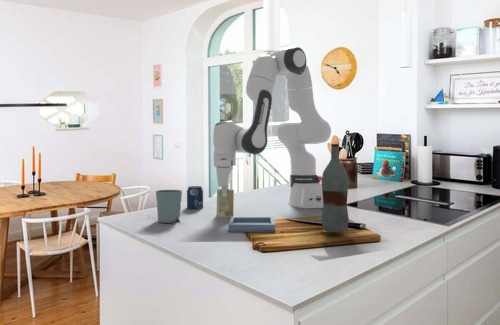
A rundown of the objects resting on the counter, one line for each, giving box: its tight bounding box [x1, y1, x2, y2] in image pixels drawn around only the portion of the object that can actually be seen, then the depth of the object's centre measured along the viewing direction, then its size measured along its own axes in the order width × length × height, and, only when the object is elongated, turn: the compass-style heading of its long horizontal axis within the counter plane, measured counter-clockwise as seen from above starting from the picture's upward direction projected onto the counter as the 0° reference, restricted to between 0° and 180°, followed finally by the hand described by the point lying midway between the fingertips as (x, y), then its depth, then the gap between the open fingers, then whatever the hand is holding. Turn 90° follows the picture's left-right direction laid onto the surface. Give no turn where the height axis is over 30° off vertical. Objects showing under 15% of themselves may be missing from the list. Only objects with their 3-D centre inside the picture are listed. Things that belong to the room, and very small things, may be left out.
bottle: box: [321, 143, 350, 233], centre depth 150 cm, size 9×9×30 cm
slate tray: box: [227, 216, 276, 233], centre depth 156 cm, size 16×16×2 cm
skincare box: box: [216, 188, 235, 219], centre depth 174 cm, size 6×4×12 cm
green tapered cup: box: [155, 189, 183, 224], centre depth 172 cm, size 10×10×12 cm
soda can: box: [186, 185, 204, 211], centre depth 187 cm, size 7×7×12 cm
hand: (225, 195), depth 173 cm, fingers open, 5 cm apart
